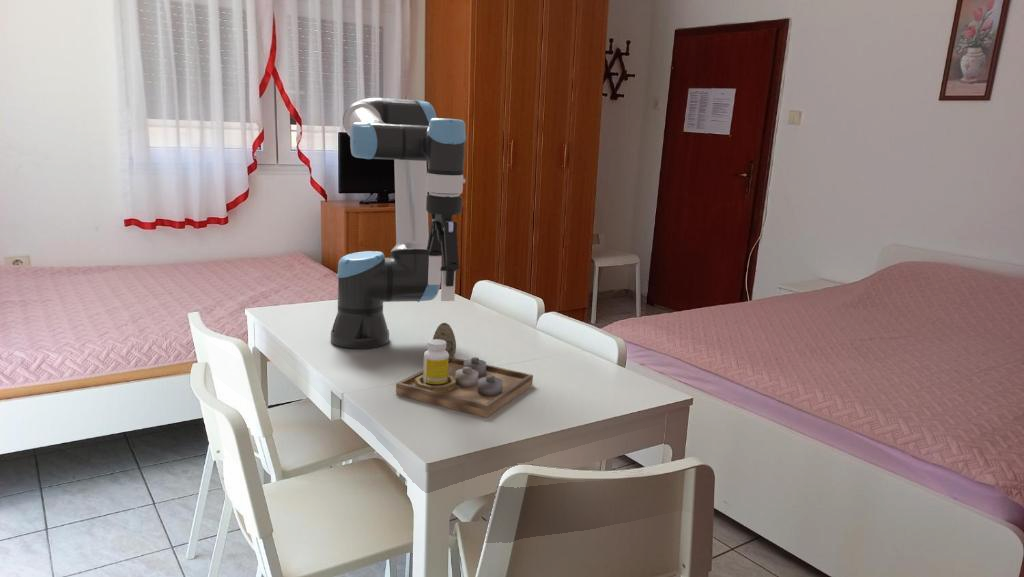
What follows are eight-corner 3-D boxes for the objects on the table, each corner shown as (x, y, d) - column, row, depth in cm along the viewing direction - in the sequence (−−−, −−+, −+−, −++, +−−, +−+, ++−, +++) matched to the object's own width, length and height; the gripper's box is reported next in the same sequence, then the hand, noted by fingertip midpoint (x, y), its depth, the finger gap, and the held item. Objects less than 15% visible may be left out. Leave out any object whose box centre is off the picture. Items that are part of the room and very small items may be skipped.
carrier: (396, 394, 150) (396, 372, 149) (449, 366, 169) (450, 346, 168) (486, 417, 141) (487, 393, 140) (532, 385, 160) (533, 364, 159)
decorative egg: (460, 361, 173) (462, 322, 171) (445, 367, 168) (446, 327, 166) (441, 356, 176) (443, 318, 174) (426, 362, 172) (427, 322, 169)
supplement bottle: (452, 387, 152) (454, 343, 150) (429, 391, 149) (431, 346, 147) (440, 379, 156) (442, 337, 154) (418, 382, 153) (419, 339, 151)
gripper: (477, 202, 137) (472, 307, 142) (448, 187, 160) (444, 278, 165) (439, 202, 134) (435, 308, 140) (416, 186, 157) (413, 278, 162)
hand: (440, 292), depth 152 cm, fingers open, 13 cm apart
